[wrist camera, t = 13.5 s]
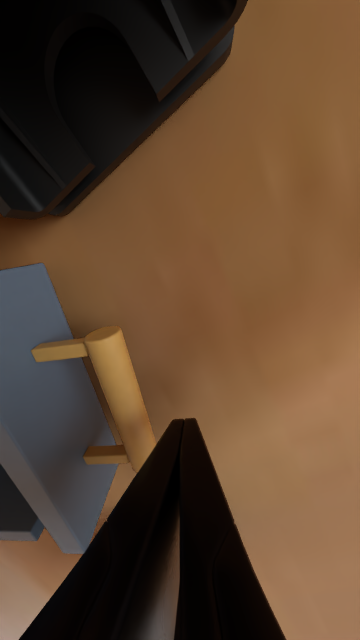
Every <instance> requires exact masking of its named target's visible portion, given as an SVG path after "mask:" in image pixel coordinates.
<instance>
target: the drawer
mask: <svg viewBox="0 0 360 640" xmlns="http://www.w3.org/2000/svg"><path fill="white" fill-rule="evenodd" d="M87 356H89V357H90V359H91V362H92V364H93V367H94V370H95V372H96V375H97V377H98V380H99V383H100V385H101V388H102V390H103V393H104V396H105V398H106V401H107V403H108V406H109V409H110V411H111V414H112V416H113V419H114V422H115V424H116V427H117V429H118V432H119V435H120V437H121V440H122V442H123V445H116V442H115V440H114V437H113V435H112V432H111V430H110V428H109V425H108V423H107V420H106V418H105V415H104V413H103V410H102V408H101V405H100V403H99V400H98V398H97V395H96V393H95V390H94V388H93V385H92V383H91V380H90V378H89V375H88V373H87V370H86V368H85V365H84V363H83V360H82V358H81V357H87ZM155 446H156V441H155V437H154V434H153V431H152V428H151V424H150V421H149V418H148V415H147V411H146V408H145V405H144V402H143V398H142V395H141V392H140V389H139V385H138V382H137V379H136V376H135V372H134V369H133V366H132V363H131V359H130V356H129V353H128V350H127V346H126V343H125V340H124V337H123V333H122V330H121V328H120V327H118V326H108V327H103V328H100V329H97V330H95V331H93V332H91V333H89V334H88V335H86V336H85V338H79V339H74V338H73V335H72V333H71V330H70V328H69V325H68V323H67V320H66V318H65V315H64V313H63V310H62V308H61V305H60V303H59V300H58V298H57V295H56V293H55V290H54V288H53V285H52V283H51V280H50V278H49V275H48V273H47V270H46V268H45V265H44V264H43V263H38V264H32V265H27V266H21V267H16V268H10V269H5V270H0V540H13V541H37V540H38V539H39V537H40V535H41V533H42V531H43V529H44V527H45V528H46V529H47V531H48V532H49V533H50V535H51V536H52V538H53V539H54V541H55V542H56V543H57V545H58V546H59V548H60V549H61V551H62V552H63V553H70V554H84V552H85V551H86V549H87V548H88V546H89V544H90V541H91V538H92V536H93V533H94V530H95V527H96V525H97V522H98V519H99V516H100V513H101V511H102V508H103V505H104V502H105V500H106V497H107V494H108V491H109V489H110V486H111V483H112V480H113V478H114V475H115V472H116V469H117V467H118V464H122V463H129V462H130V463H131V466H132V468H133V470H134V471H135V472H136V473H138V471H139V470H140V468H141V467H142V465H143V464H144V462H145V461H146V459H147V458H148V456H149V455H150V453H151V452H152V450H153V449H154V447H155Z"/></svg>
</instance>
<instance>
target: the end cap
mask: <svg viewBox="0 0 360 640" xmlns="http://www.w3.org/2000/svg"><path fill="white" fill-rule="evenodd" d="M247 1H248V0H0V213H1V214H2V215H3V217H7V218H19V219H37V218H40V217H43V216H45V215H46V214H51V215H57V216H64V215H66V214H68V213H69V212H70V211H71V210H72V209H73V208H75V207H76V206H77V205H78V204H79V203H80V202H81V201H82V200H83V199H84V198H85V197H86V196H87V195H88V194H89V193H90V192H91V191H92V190H93V189H94V188H95V187H96V186H97V185H98V184H99V183H100V182H101V181H103V180H104V179H105V178H106V177H107V176H108V175H109V174H110V173H111V172H112V171H113V170H114V169H115V168H116V167H117V166H118V165H119V164H120V163H121V162H122V161H123V160H124V159H125V158H126V157H127V156H128V155H129V154H130V153H132V152H133V151H134V150H135V149H136V148H137V147H138V146H139V145H140V144H141V143H142V142H143V141H144V140H145V139H146V138H147V137H148V136H149V135H150V134H151V133H152V132H153V131H154V130H155V129H156V128H157V127H158V126H160V125H161V124H162V123H163V122H164V121H165V120H166V119H167V118H168V117H169V116H170V115H171V114H172V113H173V112H174V111H175V110H176V109H177V108H178V107H179V106H180V105H181V104H182V103H183V102H184V101H185V100H186V99H188V98H189V97H190V96H191V95H192V94H193V93H194V92H195V91H196V90H197V89H198V88H199V87H200V86H201V85H202V84H203V83H204V82H205V81H206V80H207V79H208V78H209V77H210V76H211V75H212V74H213V73H214V72H216V71H217V70H218V69H219V68H220V67H221V66H222V65H223V64H224V62H225V61H226V59H227V58H228V56H229V55H230V51H231V46H232V40H233V34H234V25H235V24H236V22H237V21H238V19H239V17H240V16H241V14H242V12H243V10H244V8H245V6H246V4H247Z"/></svg>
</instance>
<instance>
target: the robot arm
mask: <svg viewBox="0 0 360 640" xmlns="http://www.w3.org/2000/svg"><path fill="white" fill-rule="evenodd" d="M19 640H286V638H285V636H284V634H283V632H282V630H281V628H280V626H279V624H278V622H277V619H276V617H275V615H274V613H273V611H272V609H271V607H270V605H269V603H268V600H267V598H266V596H265V594H264V592H263V590H262V587H261V585H260V583H259V581H258V579H257V576H256V574H255V572H254V570H253V567H252V565H251V562H250V560H249V557H248V555H247V552H246V550H245V547H244V545H243V542H242V540H241V537H240V534H239V532H238V529H237V526H236V524H235V523H234V519H233V516H232V513H231V511H230V508H229V505H228V503H227V500H226V497H225V495H224V492H223V489H222V487H221V484H220V481H219V479H218V476H217V473H216V471H215V468H214V465H213V463H212V460H211V457H210V455H209V452H208V449H207V447H206V444H205V441H204V439H203V436H202V433H201V431H200V428H199V425H198V423H197V420H196V419H195V418H186V419H185V420H184V419H174V420H172V421H171V423H170V424H169V426H168V428H167V429H166V431H165V432H164V434H163V435H162V437H161V438H160V440H159V441H158V443H157V444H156V446H155V447H154V449H153V450H152V452H151V453H150V455H149V456H148V458H147V459H146V461H145V462H144V464H143V465H142V467H141V468H140V470H139V471H138V473H137V474H136V476H135V477H134V479H133V480H132V482H131V483H130V485H129V486H128V488H127V490H126V491H125V493H124V494H123V496H122V497H121V499H120V500H119V502H118V503H117V505H116V506H115V508H114V509H113V511H112V512H111V514H110V515H109V517H108V518H107V522H105V523H104V524H103V526H102V527H101V529H100V530H99V532H98V533H97V535H96V536H95V538H94V539H93V541H92V542H91V543H90V545H89V546H88V548H87V549H86V551H85V552H84V554H83V555H82V557H81V558H80V559H79V561H78V562H77V564H76V565H75V566H74V568H73V569H72V570H71V572H70V573H69V574H68V576H67V577H66V578H65V580H64V581H63V582H62V584H61V585H60V586H59V588H58V589H57V590H56V592H55V593H54V594H53V596H52V597H51V598H50V600H49V601H48V602H47V603H46V605H45V606H44V607H43V609H42V610H41V611H40V613H39V614H38V615H37V616H36V618H35V619H34V620H33V622H32V623H31V624H30V626H29V627H28V628H27V629H26V631H25V632H24V633H23V635H22V636H21V637H20V639H19Z"/></svg>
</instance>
